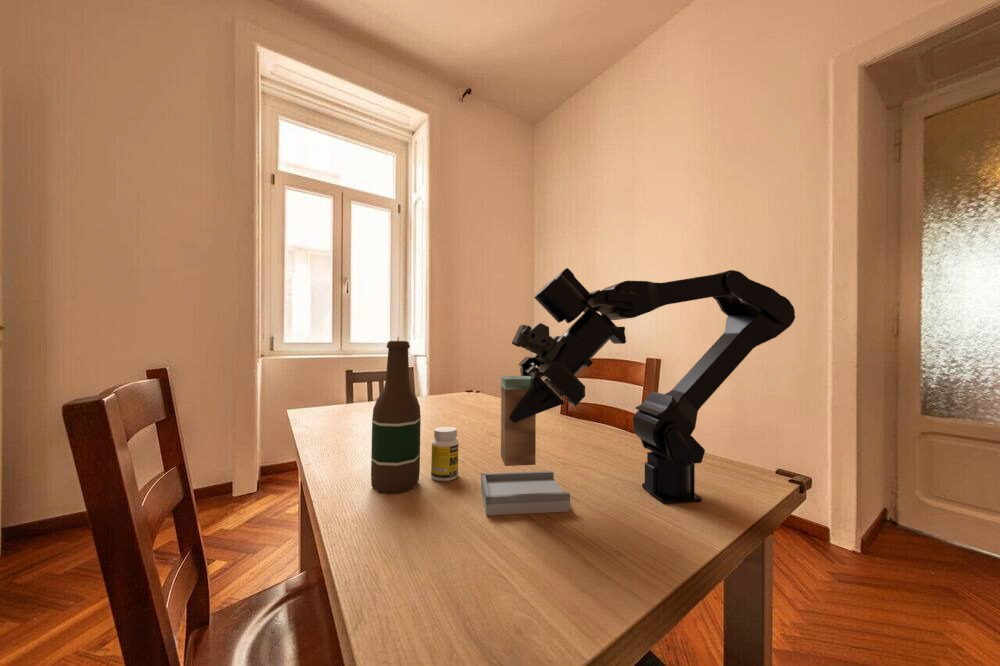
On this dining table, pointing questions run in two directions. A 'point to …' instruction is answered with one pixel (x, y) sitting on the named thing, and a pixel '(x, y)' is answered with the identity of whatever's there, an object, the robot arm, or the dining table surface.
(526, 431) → the green-topped wooden block
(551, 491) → the tray
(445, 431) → the supplement bottle
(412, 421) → the beer bottle
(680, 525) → the dining table surface
